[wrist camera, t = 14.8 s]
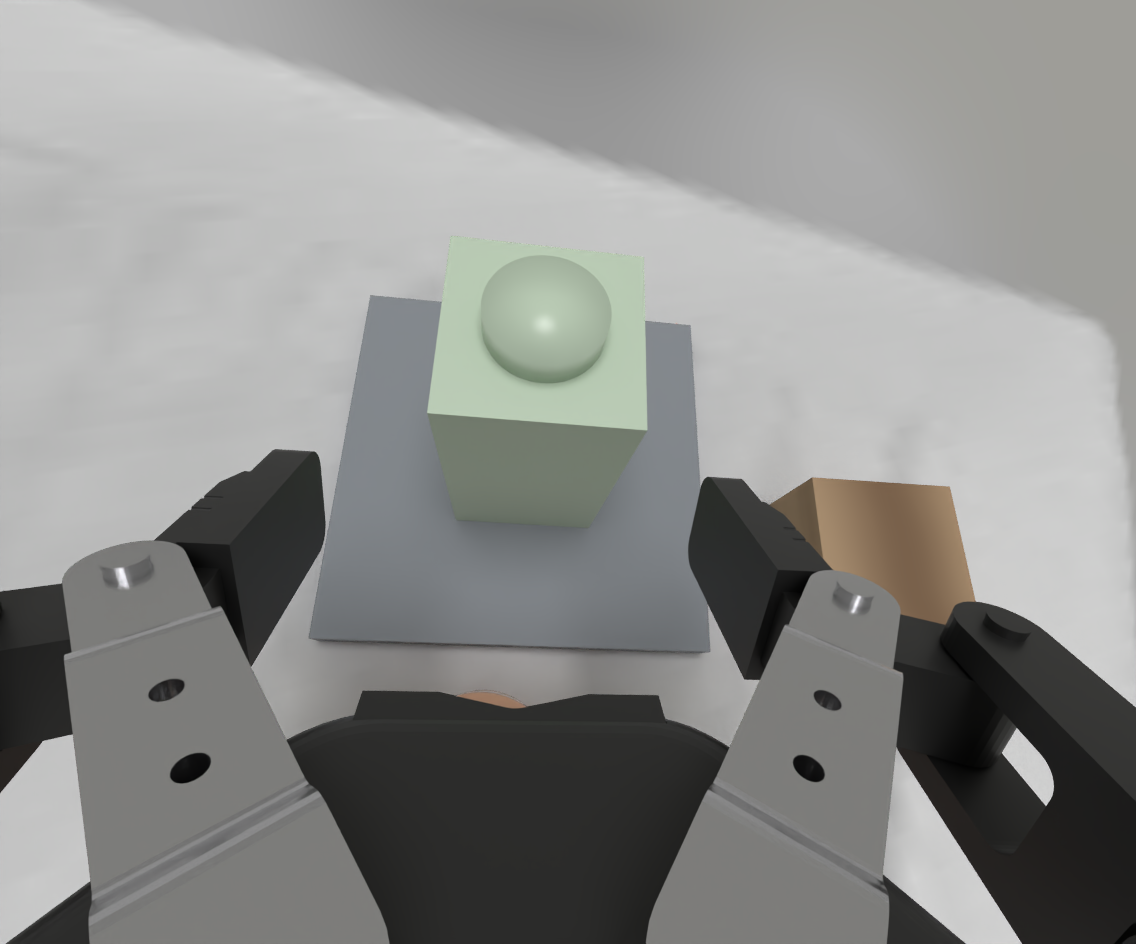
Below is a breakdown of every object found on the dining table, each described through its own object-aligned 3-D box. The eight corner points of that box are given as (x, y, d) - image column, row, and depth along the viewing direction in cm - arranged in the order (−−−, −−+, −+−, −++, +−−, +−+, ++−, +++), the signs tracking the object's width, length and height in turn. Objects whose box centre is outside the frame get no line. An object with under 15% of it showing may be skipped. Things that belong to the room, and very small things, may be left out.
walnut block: (761, 641, 22) (832, 631, 17) (749, 517, 23) (812, 477, 19) (881, 645, 22) (983, 637, 17) (861, 523, 24) (949, 486, 19)
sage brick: (455, 520, 21) (422, 396, 12) (468, 400, 22) (447, 211, 13) (588, 528, 21) (656, 415, 12) (590, 410, 23) (651, 234, 14)
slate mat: (317, 640, 20) (308, 638, 19) (375, 309, 25) (370, 295, 24) (700, 652, 21) (710, 651, 20) (683, 337, 26) (690, 325, 25)
